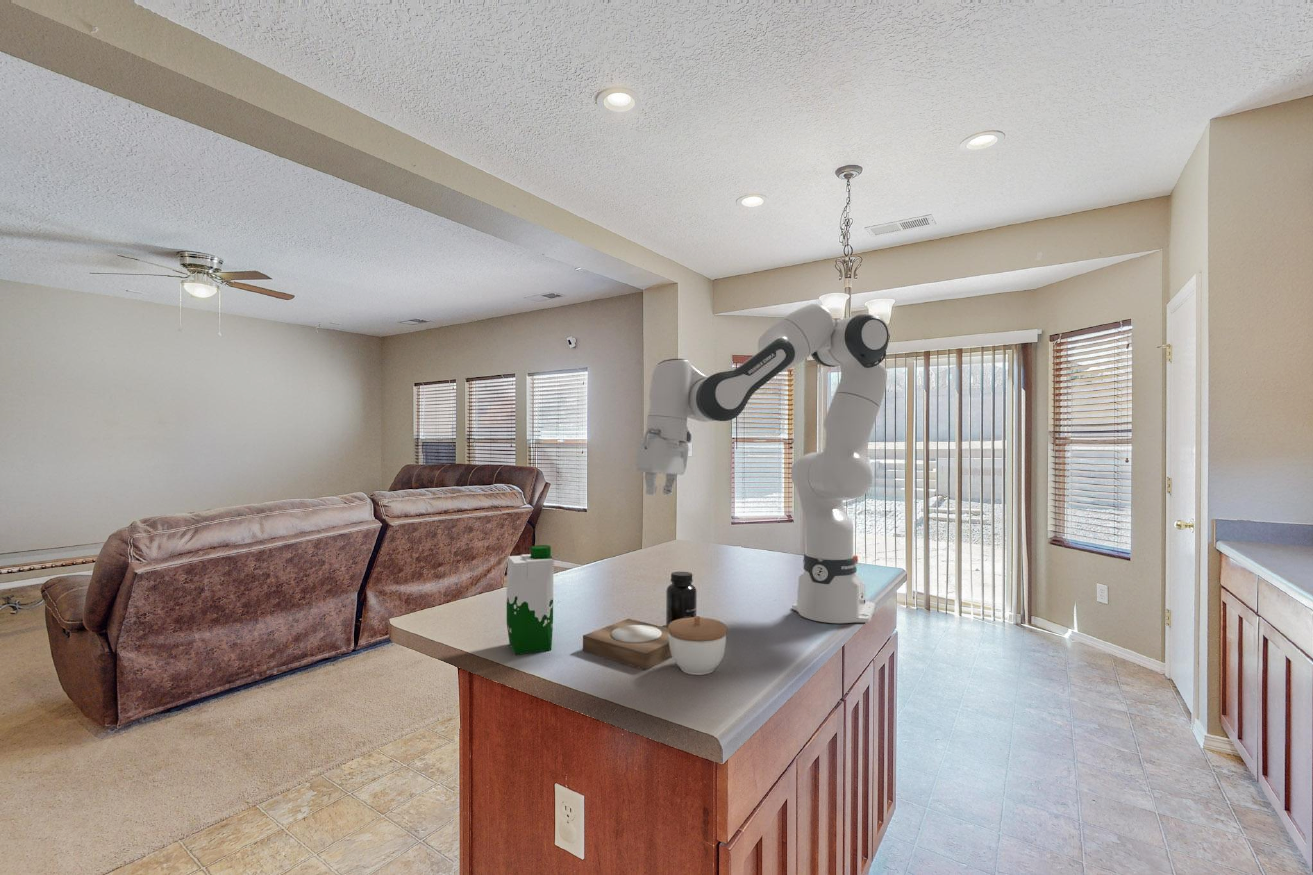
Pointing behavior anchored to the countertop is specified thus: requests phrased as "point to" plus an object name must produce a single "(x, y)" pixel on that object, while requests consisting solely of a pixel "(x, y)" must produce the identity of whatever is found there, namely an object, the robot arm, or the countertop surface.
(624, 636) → the brown flat wooden block
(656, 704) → the countertop surface
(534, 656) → the countertop surface
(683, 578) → the supplement bottle
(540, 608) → the milk carton
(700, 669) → the lidded jar
